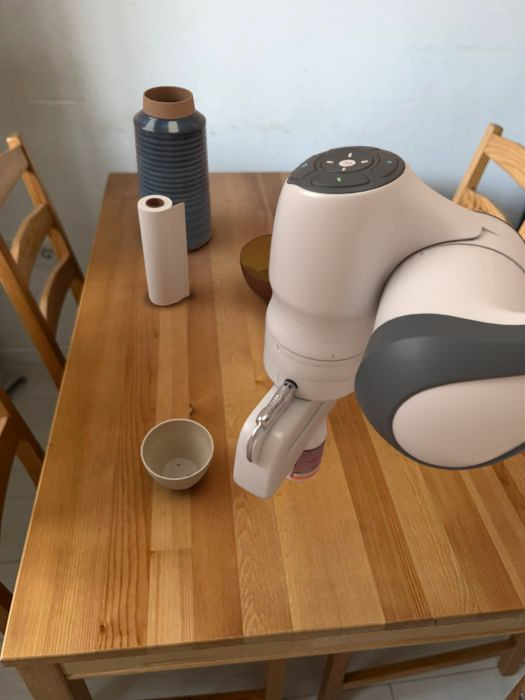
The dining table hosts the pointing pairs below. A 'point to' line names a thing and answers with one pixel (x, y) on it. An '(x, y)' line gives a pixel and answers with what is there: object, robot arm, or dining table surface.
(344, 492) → the dining table surface
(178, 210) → the paper towel roll
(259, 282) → the bowl
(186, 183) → the vase
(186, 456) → the flower pot
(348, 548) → the dining table surface
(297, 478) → the pill bottle
